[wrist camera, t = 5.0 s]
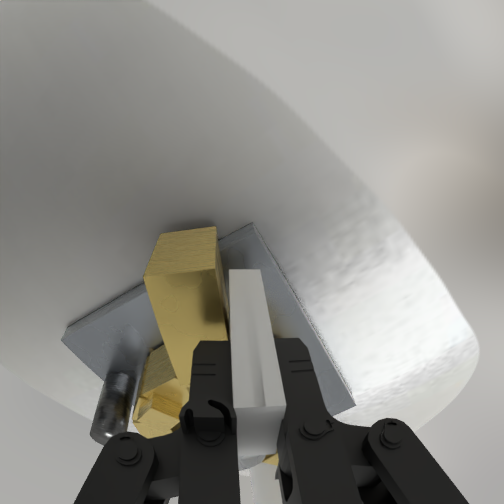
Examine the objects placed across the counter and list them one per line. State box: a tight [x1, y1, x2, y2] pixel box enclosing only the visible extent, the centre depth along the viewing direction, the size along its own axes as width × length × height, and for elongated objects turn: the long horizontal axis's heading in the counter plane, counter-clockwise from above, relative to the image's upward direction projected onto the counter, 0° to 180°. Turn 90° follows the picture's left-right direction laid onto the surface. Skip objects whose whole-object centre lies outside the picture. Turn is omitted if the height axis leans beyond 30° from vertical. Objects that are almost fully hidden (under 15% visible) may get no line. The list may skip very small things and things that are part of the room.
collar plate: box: [61, 222, 356, 470], centre depth 16 cm, size 16×13×6 cm
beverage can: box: [250, 462, 283, 504], centre depth 19 cm, size 8×8×12 cm
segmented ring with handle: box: [132, 226, 279, 466], centre depth 15 cm, size 16×10×4 cm, turn 5°
